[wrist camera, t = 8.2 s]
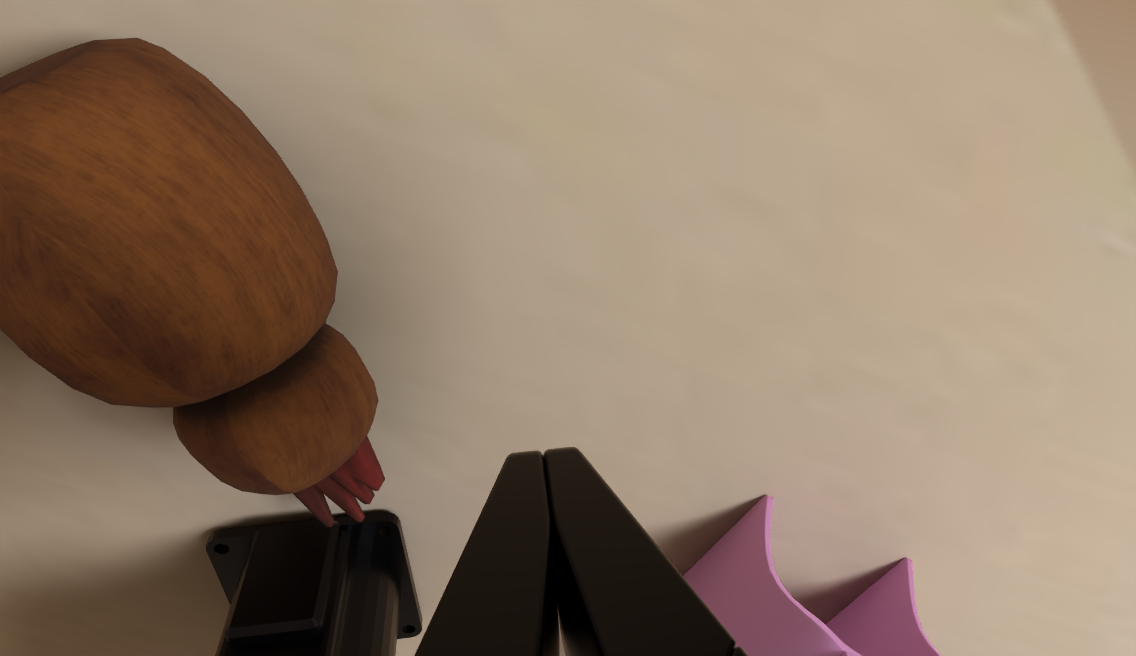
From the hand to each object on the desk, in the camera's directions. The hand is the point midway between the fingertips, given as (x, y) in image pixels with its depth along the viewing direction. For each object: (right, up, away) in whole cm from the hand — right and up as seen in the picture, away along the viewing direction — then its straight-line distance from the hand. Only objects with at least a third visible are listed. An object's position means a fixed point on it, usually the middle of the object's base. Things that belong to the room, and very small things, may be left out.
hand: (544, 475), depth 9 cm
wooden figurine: (-10, +7, +5) cm, 14 cm away
